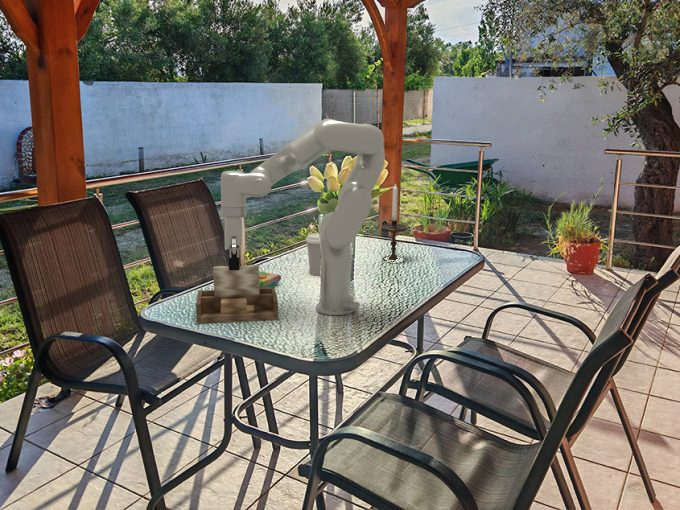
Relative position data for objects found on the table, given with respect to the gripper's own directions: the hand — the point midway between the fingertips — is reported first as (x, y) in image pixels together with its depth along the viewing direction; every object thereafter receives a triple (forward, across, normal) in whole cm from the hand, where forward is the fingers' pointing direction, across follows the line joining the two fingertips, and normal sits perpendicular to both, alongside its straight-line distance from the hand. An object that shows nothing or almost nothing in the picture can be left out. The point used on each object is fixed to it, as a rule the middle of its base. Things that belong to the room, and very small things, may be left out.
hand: (234, 265), depth 202 cm
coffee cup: (+15, -41, +32) cm, 54 cm away
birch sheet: (+14, 0, +1) cm, 14 cm away
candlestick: (+14, -56, +65) cm, 87 cm away
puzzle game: (+16, -24, +6) cm, 30 cm away
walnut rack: (+15, +5, +1) cm, 16 cm away
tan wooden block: (+14, +6, +1) cm, 16 cm away
